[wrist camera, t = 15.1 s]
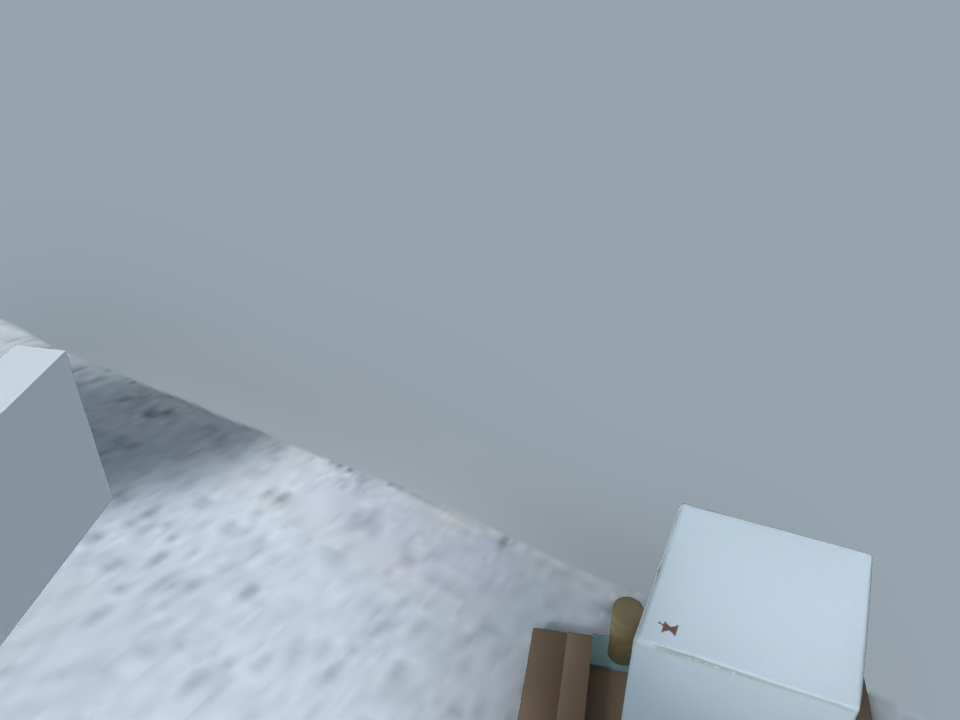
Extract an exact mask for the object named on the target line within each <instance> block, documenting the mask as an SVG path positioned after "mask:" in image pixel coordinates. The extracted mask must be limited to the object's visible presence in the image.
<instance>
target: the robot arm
mask: <svg viewBox="0 0 960 720" xmlns="http://www.w3.org/2000/svg"><path fill="white" fill-rule="evenodd" d="M112 499H113V496H112V493H111V490H110V487H109V484H108V481H107V478H106V475H105V472H104V469H103V466H102V462H101V459H100V456H99V453H98V450H97V447H96V444H95V441H94V438H93V435H92V432H91V428H90V425H89V422H88V419H87V416H86V413H85V410H84V407H83V404H82V401H81V397H80V394H79V391H78V388H77V385H76V382H75V379H74V376H73V373H72V370H71V367H70V363H69V360H68V357H67V354H66V351H63V350H53V349H44V348H35V347H26V346H17V345H15V346H14V347H13V348H12V349H11V350H10V351H8V352H7V353H6V354H5V355H4V356H3V357H2V358H1V359H0V646H1V644H2V643H3V642H4V640H5V639H6V638H7V636H8V635H9V634H10V633H11V631H12V630H13V629H14V627H15V626H16V625H17V623H18V622H19V621H20V619H21V618H22V617H23V615H24V614H25V613H26V612H27V610H28V609H29V608H30V606H31V605H32V604H33V602H34V601H35V600H36V598H37V597H38V596H39V594H40V593H41V592H42V591H43V589H44V588H45V587H46V585H47V584H48V583H49V581H50V580H51V579H52V577H53V576H54V575H55V573H56V572H57V571H58V570H59V568H60V567H61V566H62V564H63V563H64V562H65V560H66V559H67V558H68V556H69V555H70V554H71V552H72V551H73V550H74V549H75V547H76V546H77V545H78V543H79V542H80V541H81V539H82V538H83V537H84V535H85V534H86V533H87V531H88V530H89V529H90V528H91V526H92V525H93V524H94V522H95V521H96V520H97V518H98V517H99V516H100V514H101V513H102V512H103V510H104V509H105V508H106V507H107V505H108V504H109V503H110V501H111V500H112Z"/></svg>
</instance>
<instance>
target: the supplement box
mask: <svg viewBox="0 0 960 720" xmlns="http://www.w3.org/2000/svg"><path fill="white" fill-rule="evenodd" d="M871 574H872V556H871V555H870V554H867V553H863V552H859V551H856V550H852V549H849V548H845V547H842V546H838V545H835V544H831V543H828V542H824V541H820V540H816V539H812V538H809V537H805V536H801V535H798V534H794V533H791V532H787V531H783V530H780V529H776V528H772V527H768V526H764V525H761V524H757V523H753V522H749V521H745V520H741V519H738V518H734V517H730V516H727V515H724V514H720V513H717V512H713V511H710V510H706V509H703V508H699V507H696V506H693V505H689V504H686V503H683V504H682V505H681V506H680V507H679V510H678V513H677V516H676V518H675V521H674V524H673V527H672V530H671V533H670V536H669V539H668V542H667V545H666V548H665V551H664V554H663V556H662V559H661V562H660V564H659V567H658V569H657V572H656V575H655V580H654V583H653V586H652V589H651V592H650V594H649V597H648V600H647V603H646V606H645V609H644V611H643V614H642V617H641V620H640V623H639V626H638V628H637V631H636V634H635V637H634V639H633V647H632V654H631V660H630V666H629V672H628V679H627V685H626V691H625V698H624V704H623V710H622V717H621V720H855V719H856V717H857V715H858V712H859V710H860V705H861V697H862V689H863V678H864V666H865V655H866V643H867V630H868V617H869V603H870V591H871Z"/></svg>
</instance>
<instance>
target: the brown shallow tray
mask: <svg viewBox="0 0 960 720" xmlns="http://www.w3.org/2000/svg"><path fill="white" fill-rule="evenodd" d="M642 614H643V607H642V605H641V603H640V602H639V601H637V600H636V599H634V598H631V597H622V598H619V599H617V600H616V601H615V603H614V605H613V612H612V620H611V629H610V636H603V635H597V634H593V636H591V635H584V634H577V633H571V632H568V633H566V632H559V631H553V630H546V629H539V628H533V634H532V640H531V646H530V652H529V658H528V663H527V669H526V675H525V681H524V687H523V693H522V698H521V704H520V710H519V716H518V720H621V717H622V710H623V704H624V698H625V691H626V685H627V679H628V672H629V666H630V660H631V654H632V647H633V639H634V637H635V634H636V631H637V628H638V626H639V623H640V620H641V617H642ZM855 720H872V717H871V712H870V707H869V701H868V696H867V691H866V686H865V681H864V678H863V689H862V697H861V705H860V710H859V712H858V715H857V717H856V719H855Z"/></svg>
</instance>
